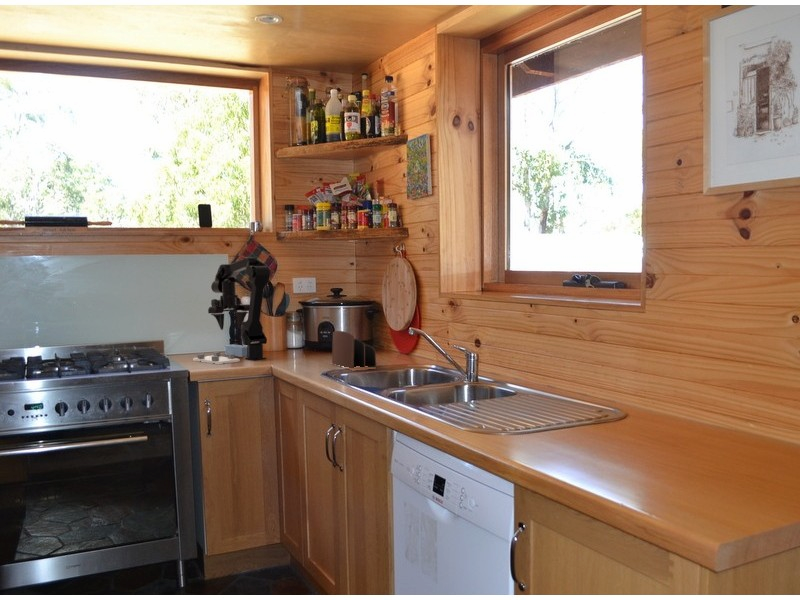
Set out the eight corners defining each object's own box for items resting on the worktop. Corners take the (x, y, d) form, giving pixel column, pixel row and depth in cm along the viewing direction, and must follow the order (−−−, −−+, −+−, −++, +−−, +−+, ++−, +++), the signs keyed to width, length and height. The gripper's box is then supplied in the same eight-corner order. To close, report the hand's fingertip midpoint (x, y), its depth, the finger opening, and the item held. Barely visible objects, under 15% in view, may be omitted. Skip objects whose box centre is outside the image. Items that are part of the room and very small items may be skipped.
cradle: (239, 361, 294) (239, 354, 294) (219, 364, 287) (218, 357, 286) (213, 357, 306) (213, 351, 306) (193, 360, 298) (193, 353, 298)
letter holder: (352, 372, 265) (351, 334, 264) (331, 364, 283) (331, 329, 282) (376, 369, 270) (376, 332, 269) (355, 362, 287) (354, 327, 287)
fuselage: (250, 355, 311) (250, 346, 310) (242, 356, 307) (241, 347, 307) (230, 352, 320) (230, 344, 319) (222, 354, 316) (222, 345, 316)
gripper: (235, 292, 325) (236, 326, 326) (199, 294, 311) (201, 330, 311) (250, 292, 318) (252, 327, 319) (215, 294, 304) (217, 330, 304)
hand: (230, 328), depth 313 cm, fingers open, 9 cm apart
